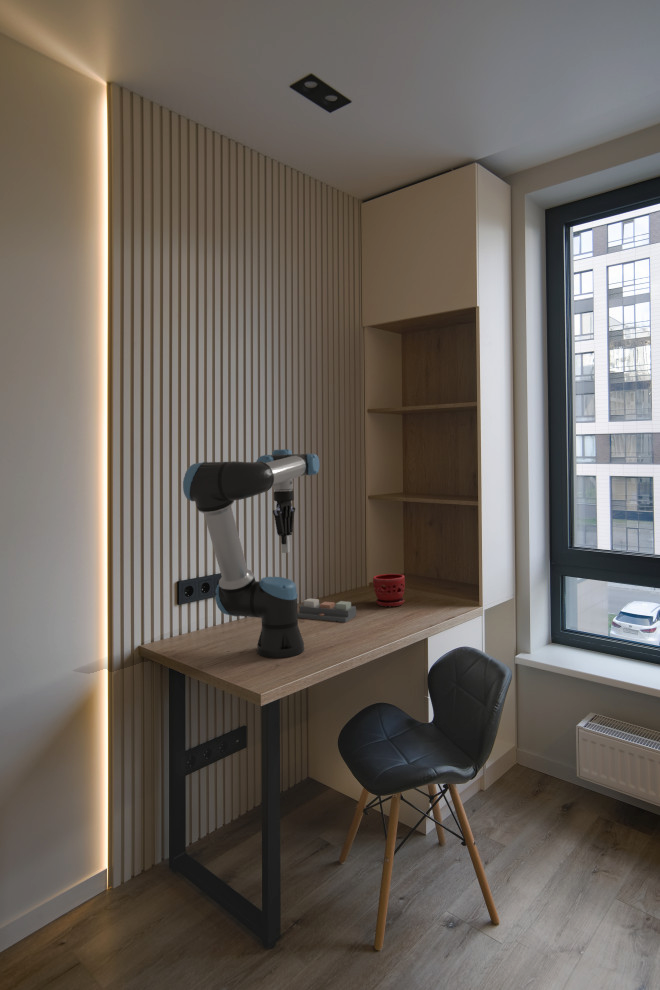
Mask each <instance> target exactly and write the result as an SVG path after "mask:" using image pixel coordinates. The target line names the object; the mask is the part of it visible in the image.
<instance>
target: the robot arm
mask: <svg viewBox="0 0 660 990" xmlns="http://www.w3.org/2000/svg"><path fill="white" fill-rule="evenodd" d="M320 466H321V465H320V459H319V456H318V455H317V454H316V453H297V454H296V453H295V454H293V452H292V450H291V449H288V448H287V449H274V450H272V452H271V454H264V455H261V456H259V457H258V458H257V460H256V461H255V462H254V461H253V462H250V461H248V462H247V461H235V460H234V461H214V462H213V461H212V462H211V461H209V462H208V461H203V462H195V463H192V464H191V465H190V466H189V467H188V468H187V470H186V471H185V473H184V477H183V481H182V490H183V494H184V497H185V498H186V499H187V500H188V501H191V502H195V506H196V509H197V511H198V512H199V513H202V514H203V515H204V519H205V523H206V526H207V530H208V533H209V537H210V540H211V544H212V547H213V551H214V554H215V558H216V562H217V564H218V569H219V571H220V575H221V577H220V579H219V580H218V584H217V585H216V588H215V594H216V595H215V596H214V597H215V604H216V605H217V606H216V607H217V608H218V609H219V611H220V612H221V613H222V614H224V615H227V616H232V617H245V618H260V619H261V630H260V632H259V633H260V634H259V637H258V641H257V645H256V651H257V652H256V653H257V654H258V655H260V656H262V657H264V658H271V659H274V658H275V659H281V658H282V659H283V658H290V657H295V656H298V655H300V654H301V653H303V652H305V642H304V639H303V637H302V633H301V631H300V628H299V624H298V621H299V618H298V614H297V613H298V592H297V584H296V583H295V582H294V581H293V580H292V579H289V578H286V577H282V576H267V577H262V578H261V579H260V580H259V581H258V580H256V577H255V574H254V572H253V571H252V570H250V569H248V565H247V563H246V562H247V561H246V559H245V554H244V550H243V547H242V543H241V539H240V535H239V532H238V531H239V530H238V529H237V528H238V527H237V525H236V521H235V516H234V513H233V509H232V506H233V504H234V502H235V501H240V500H246V499H248V498H252V497H254V496H255V497H256V496H258V495H261V494H263V493H266V492H268V491H270V490H271V489H272V488H273V491H274V492H273V501H274V502H276V508H275V509H273V510H272V514H273V516H274V517H273V518H274V520H275V522H274V523H275V529H276V534H277V536H278V537H279V536H280V542H281V544H280V545H281V553H282V554H283V553H284V554H289V553H290V552H291V548H290V547H291V546H290V544H291V543H290V541H291V540H290V536H292V535H293V531H294V521H295V512H296V507H293V506H292V505H293V503H292V502H293V501H294V500H295V498H294V497H295V495H294V479H297V478H300V477H303V476H313V475H314V476H315V475H317V474H318V473H319V471H320Z"/></svg>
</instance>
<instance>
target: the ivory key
mask: <svg viewBox="0 0 660 990" xmlns="http://www.w3.org/2000/svg"><path fill="white" fill-rule="evenodd" d="M319 603H320V600H319V598H318V599H317V598H307V599H305V600H303V604H304V606H308V607H316V606H318V605H319Z"/></svg>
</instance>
